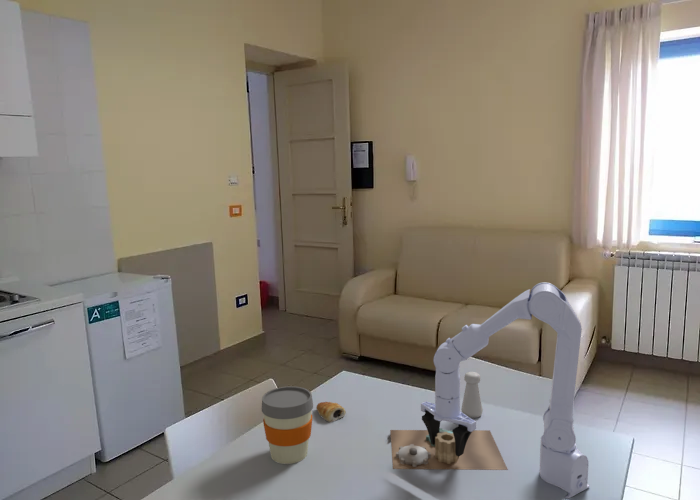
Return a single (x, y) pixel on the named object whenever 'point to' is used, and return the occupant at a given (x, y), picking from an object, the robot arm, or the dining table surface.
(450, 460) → the wooden gear
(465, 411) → the salt shaker
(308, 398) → the reusable coffee cup
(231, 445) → the dining table surface
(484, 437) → the gear board
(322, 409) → the pastry
